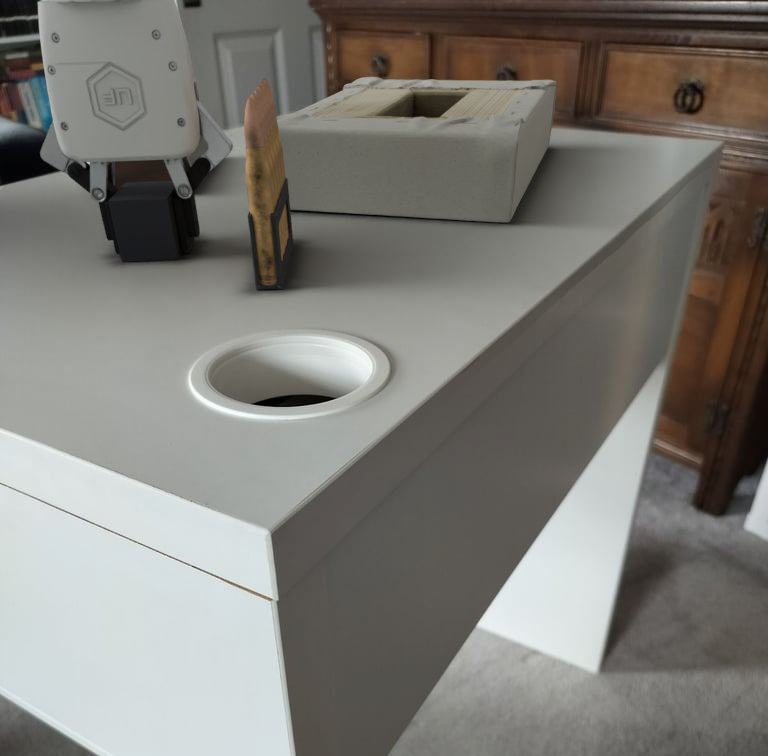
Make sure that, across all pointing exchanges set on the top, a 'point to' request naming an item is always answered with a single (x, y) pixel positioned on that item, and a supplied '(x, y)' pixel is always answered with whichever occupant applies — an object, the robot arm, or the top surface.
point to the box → (419, 148)
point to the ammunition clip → (267, 191)
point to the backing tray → (149, 168)
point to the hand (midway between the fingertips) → (156, 245)
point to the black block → (145, 221)
